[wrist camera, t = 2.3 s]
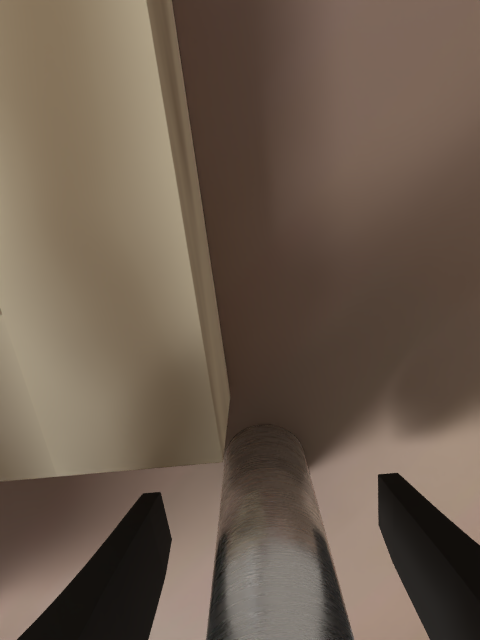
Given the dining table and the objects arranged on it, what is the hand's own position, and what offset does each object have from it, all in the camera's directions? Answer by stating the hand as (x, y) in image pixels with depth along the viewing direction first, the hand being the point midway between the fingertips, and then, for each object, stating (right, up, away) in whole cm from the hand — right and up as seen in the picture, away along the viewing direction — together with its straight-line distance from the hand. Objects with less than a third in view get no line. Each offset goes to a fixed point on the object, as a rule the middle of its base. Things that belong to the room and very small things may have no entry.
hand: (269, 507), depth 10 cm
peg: (0, +1, +2) cm, 2 cm away
